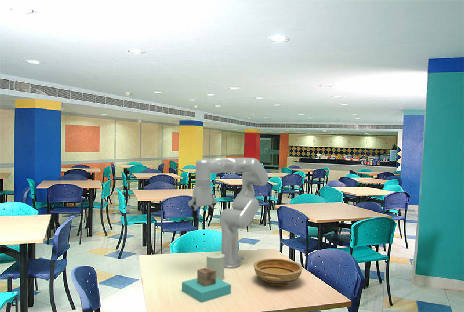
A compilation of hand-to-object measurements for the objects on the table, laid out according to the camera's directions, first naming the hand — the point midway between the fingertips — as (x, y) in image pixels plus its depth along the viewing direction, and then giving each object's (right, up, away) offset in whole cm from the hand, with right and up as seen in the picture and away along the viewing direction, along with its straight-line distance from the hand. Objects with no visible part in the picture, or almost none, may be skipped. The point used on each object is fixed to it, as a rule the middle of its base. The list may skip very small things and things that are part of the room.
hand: (202, 216), depth 187 cm
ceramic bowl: (+38, -31, -7) cm, 50 cm away
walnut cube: (+4, -27, -22) cm, 35 cm away
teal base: (+3, -31, -22) cm, 38 cm away
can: (+7, -31, -3) cm, 32 cm away
